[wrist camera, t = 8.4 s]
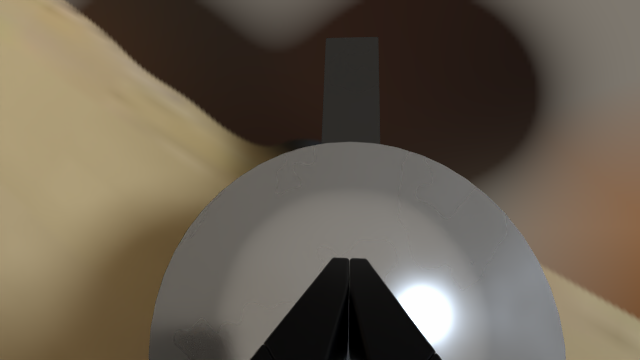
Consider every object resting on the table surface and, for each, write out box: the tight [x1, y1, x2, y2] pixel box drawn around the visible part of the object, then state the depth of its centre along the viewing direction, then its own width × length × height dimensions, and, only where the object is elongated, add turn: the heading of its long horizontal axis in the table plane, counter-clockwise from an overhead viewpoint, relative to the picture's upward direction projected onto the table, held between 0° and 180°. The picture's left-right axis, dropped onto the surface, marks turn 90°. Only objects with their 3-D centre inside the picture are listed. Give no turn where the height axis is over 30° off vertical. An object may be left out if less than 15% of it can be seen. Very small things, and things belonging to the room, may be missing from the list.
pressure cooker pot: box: [322, 37, 380, 144], centre depth 16 cm, size 18×12×5 cm, turn 178°
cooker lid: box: [149, 142, 566, 360], centre depth 11 cm, size 12×12×2 cm
